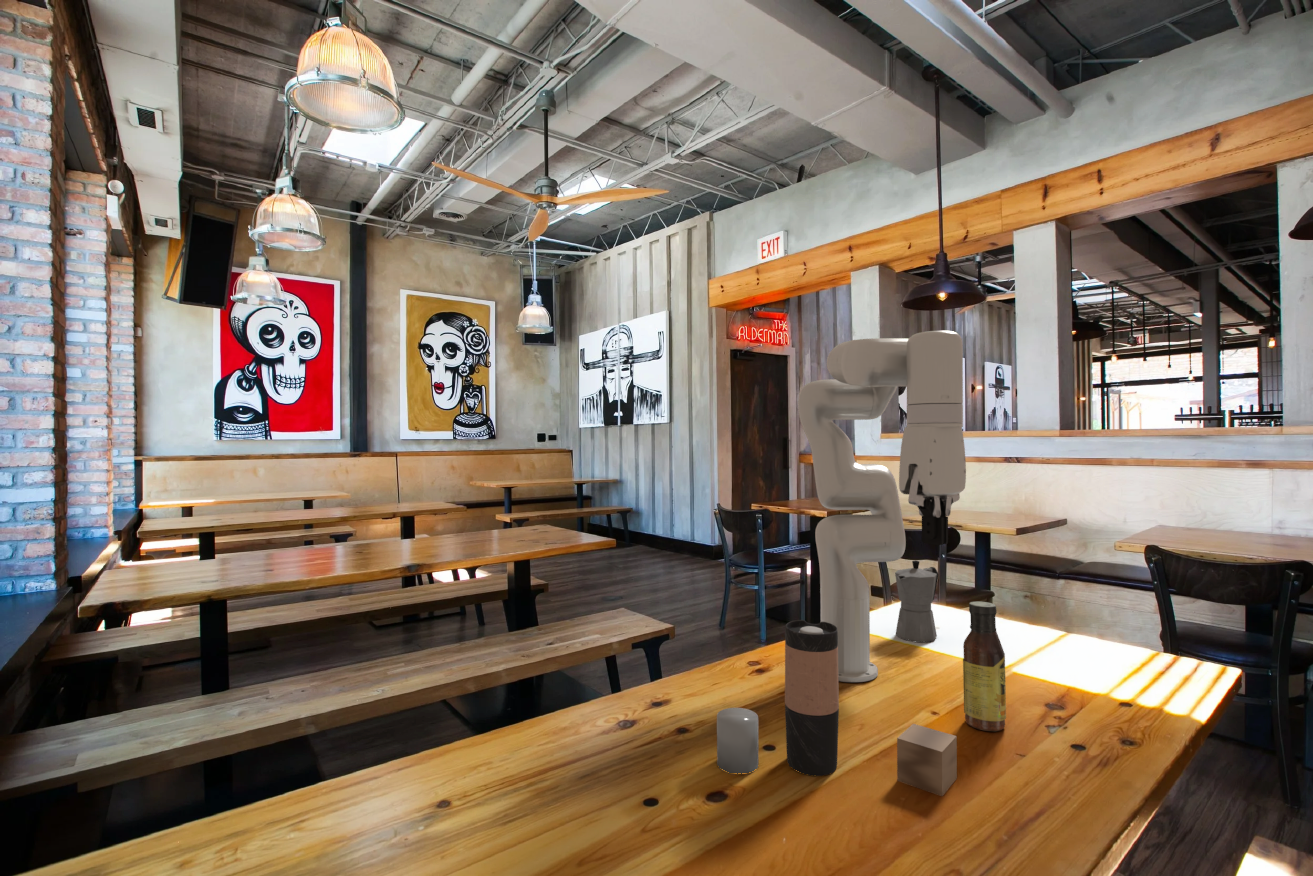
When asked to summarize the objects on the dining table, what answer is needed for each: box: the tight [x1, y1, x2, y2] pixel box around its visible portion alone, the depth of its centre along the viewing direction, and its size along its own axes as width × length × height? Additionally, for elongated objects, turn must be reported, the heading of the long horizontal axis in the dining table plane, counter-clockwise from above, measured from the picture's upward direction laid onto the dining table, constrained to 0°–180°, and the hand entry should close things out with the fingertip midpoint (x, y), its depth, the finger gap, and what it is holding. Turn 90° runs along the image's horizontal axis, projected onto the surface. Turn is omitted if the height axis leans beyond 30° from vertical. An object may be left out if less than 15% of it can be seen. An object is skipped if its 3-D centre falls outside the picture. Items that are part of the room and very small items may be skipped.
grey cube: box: [896, 723, 958, 797], centre depth 91 cm, size 6×6×6 cm
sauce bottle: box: [962, 601, 1007, 733], centre depth 107 cm, size 7×6×20 cm
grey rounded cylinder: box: [716, 707, 759, 774], centre depth 95 cm, size 6×6×7 cm
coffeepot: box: [894, 560, 939, 643], centre depth 155 cm, size 15×9×18 cm, turn 125°
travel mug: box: [784, 619, 840, 777], centre depth 95 cm, size 8×8×20 cm
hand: (934, 543), depth 95 cm, fingers closed
